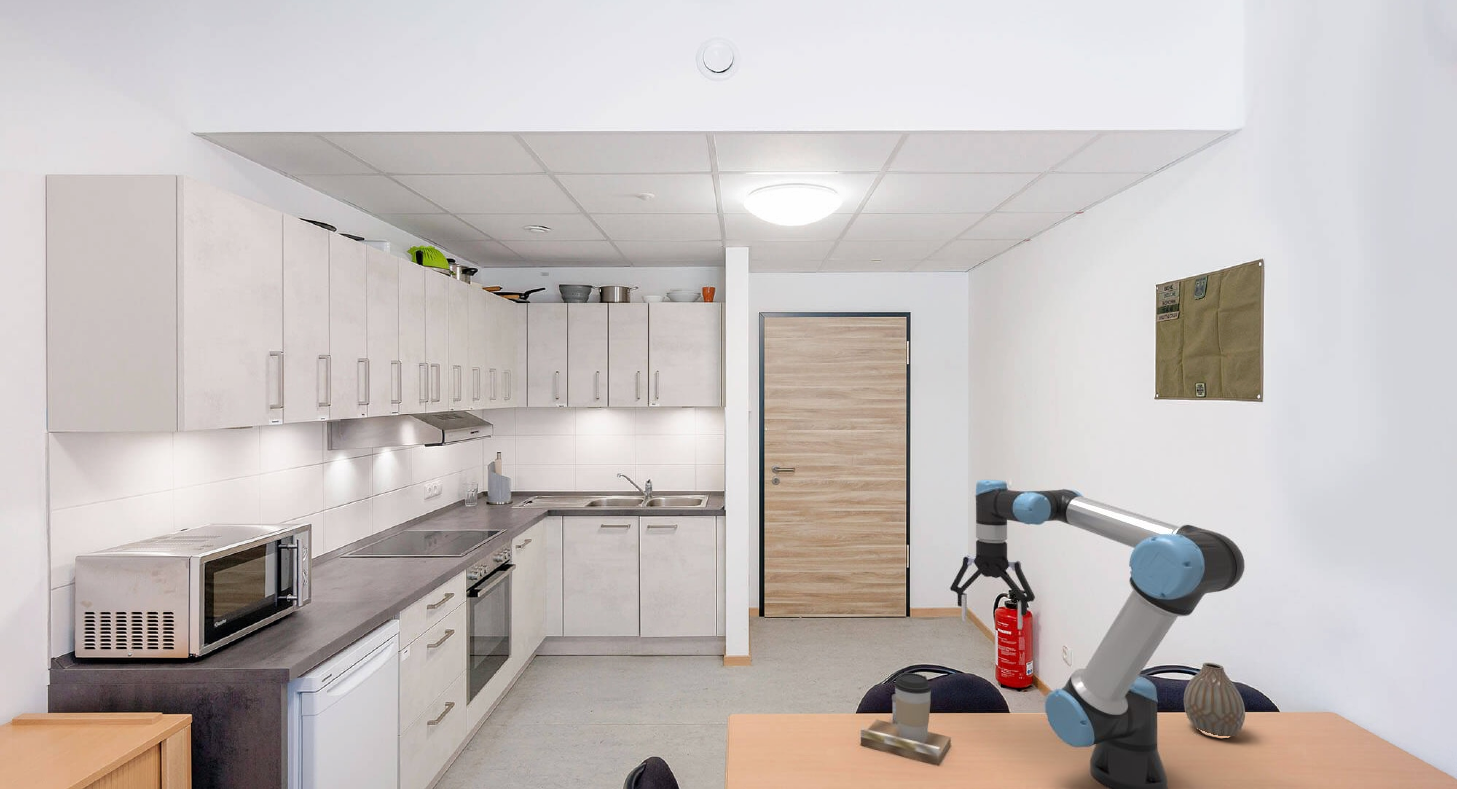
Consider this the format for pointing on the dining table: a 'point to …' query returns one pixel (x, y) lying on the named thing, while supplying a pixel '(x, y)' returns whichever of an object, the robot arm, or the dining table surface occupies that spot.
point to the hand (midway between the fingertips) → (991, 623)
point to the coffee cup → (913, 706)
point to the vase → (1214, 702)
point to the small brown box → (905, 743)
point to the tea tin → (894, 710)
